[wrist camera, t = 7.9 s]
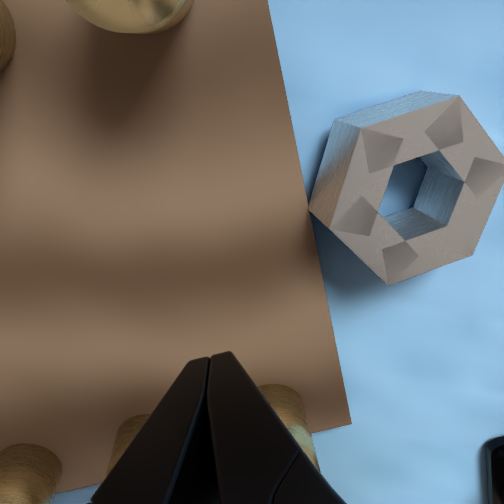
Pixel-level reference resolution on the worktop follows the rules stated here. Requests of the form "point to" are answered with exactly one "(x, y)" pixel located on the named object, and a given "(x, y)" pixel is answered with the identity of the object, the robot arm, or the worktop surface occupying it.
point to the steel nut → (431, 191)
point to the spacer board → (150, 226)
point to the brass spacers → (48, 464)
